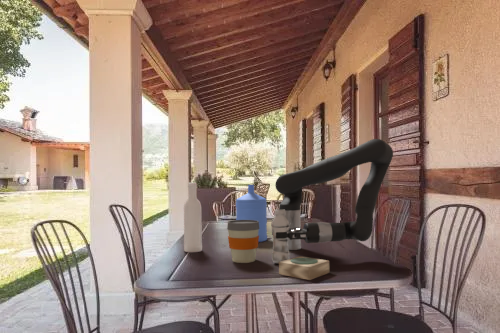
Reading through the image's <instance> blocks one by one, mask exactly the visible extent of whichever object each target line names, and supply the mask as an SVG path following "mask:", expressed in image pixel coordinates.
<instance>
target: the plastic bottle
mask: <svg viewBox="0 0 500 333" xmlns="http://www.w3.org/2000/svg"><path fill="white" fill-rule="evenodd" d="M288 229H289V223H288V220H287V219H286V217H285V210H284V209H280V208H277V209H274V218H273V220H272V221H271V234H272V233H273V235H272V241H273V242H272V252H271V260H272V263H274V264H278V265H279V262H281V261H284V260H288V259H291V256H290V250H289V249H288V239H286V238H280V239H277V238H276V232H287V231H288Z"/></svg>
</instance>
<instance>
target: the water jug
mask: <svg viewBox="0 0 500 333" xmlns="http://www.w3.org/2000/svg"><path fill="white" fill-rule="evenodd" d="M247 187H248V188H247V193H246V194H243V195H241V196H240V197H237V198H236V200H235V209H236V211H235V215H236V217H235V218H236V219H235V220H256V221H259V228H260V229H259V231H258V236H259V240H258V243H262V242H266V241H267V240H268V233H267V229H268V228H267V227H268V225H267V223H268V218H267V216H268V215H267V198H266V197H263V196H261V195H259V194H257V193H255V184H248V185H247Z"/></svg>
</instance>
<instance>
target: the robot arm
mask: <svg viewBox="0 0 500 333" xmlns="http://www.w3.org/2000/svg"><path fill="white" fill-rule="evenodd" d="M393 158H394V150H393V147H392V146H390V145H389V144H388V143H386V142H385V141H384V140H383V139H380V138H372V139H370V140H368V141H366V142H363V143H361V144H360V145H358V146H355V147H353V148H352V149H349V150H347V151H346V150H345V151H343V152H342V153H339V154H335V155H334V156H333V155H332V156H330V157H327V158H325V159H322V160H319V161H317V162H315V163H312V164H310V165H309V166H306V167H305V168H302V169H299V170H296V171H292V172H287V173H283V174H281V175H280V176H279V177H278V178H276V181H275V185H274V186H275V189H276V191H277V192H278V193H279V194H281V195H283V200H282V201H281V202H280V203H279V209H284V210H285V217H286V219H287V220H288V223H289V229H288V231H287V232H276V238H277V239H280V238H286V239H288V249H289V250H288V251H297V250H301V249H302V242H301V241H302V240H304V242H305V243H307V244H319V243H321V244H322V243H328V242H329V243H330V242H342V241H344V240H354V241H355V240H356V241H358V242H366V241H368V240H369V239H370V237H371V236H372V233H373V227H374V212H375V208H376V204H377V201H378V196H379V192H380V190H381V187H382V185H383V181H384V179H385V176H386V175H387V171H388V169H389V167H390V164H391V163H392V159H393ZM367 163H371V164H370V170H369V173H368V175H367V178H366V180H365V182H364V184H363V185H362V186H361V188H360V190H359V192H358V197H357V199H356V204H355V207H354V212H355V214H356V220H354V221H345V222H322V221H321V222H320V221H319V222H306V223H304V224H303V228H301V224H302V223H301V206H302V202H303V188H304V187H306V186H307V187H308V186H313V185H319V184H323V183H327V182H330V181H335V180H337V179H340V178H342V177H343V176H345V175H346V174H347V173H348V172H350V171H351V170H352V169H353V168H355V167H358V166H360V165H363V164H367ZM271 236H273V233H272V232H271Z"/></svg>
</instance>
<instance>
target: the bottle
mask: <svg viewBox="0 0 500 333" xmlns="http://www.w3.org/2000/svg"><path fill="white" fill-rule="evenodd" d="M187 184H188V185H187V188H188V189H187V190H188V195H187V196H188V198H187V199H186V200H185V202H184V205H183V241H184V242H183V249H184V250H183V252H185V253H198V252H199V253H200V252H202V250H203V240H202V239H203V236H202V235H203V234H202V233H203V230H202V229H203V227H202V225H203V224H202V222H203V221H202V219H203V217H202V216H203V215H202V204H201V201H200V200H199V199H198V197H197V191H198V190H197V188H198V185H197V182H188V183H187Z"/></svg>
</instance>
